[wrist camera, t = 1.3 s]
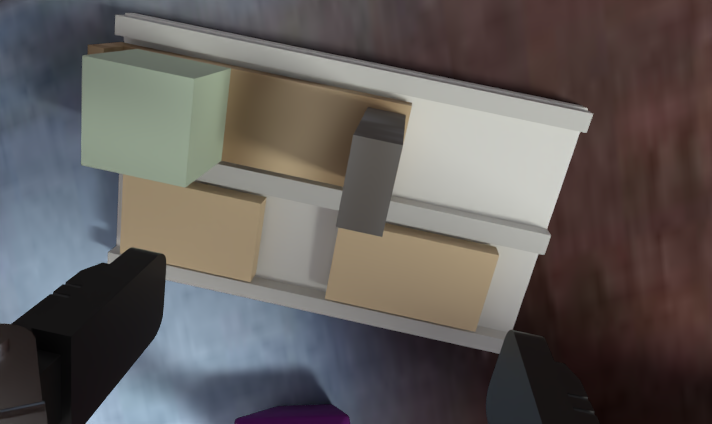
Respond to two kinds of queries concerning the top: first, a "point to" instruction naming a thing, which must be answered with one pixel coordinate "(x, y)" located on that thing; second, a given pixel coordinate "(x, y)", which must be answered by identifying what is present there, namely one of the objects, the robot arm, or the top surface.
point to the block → (152, 115)
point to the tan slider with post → (312, 136)
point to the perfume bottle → (297, 415)
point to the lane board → (406, 210)
